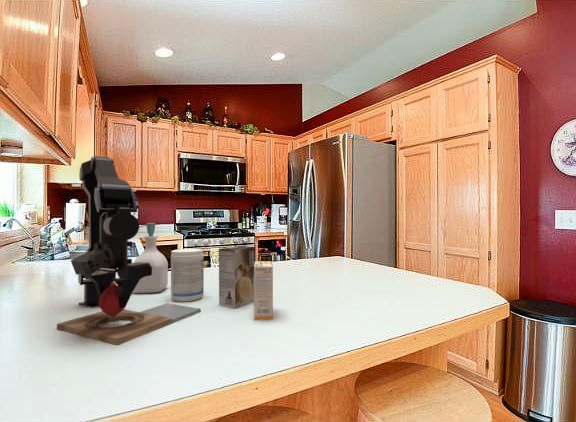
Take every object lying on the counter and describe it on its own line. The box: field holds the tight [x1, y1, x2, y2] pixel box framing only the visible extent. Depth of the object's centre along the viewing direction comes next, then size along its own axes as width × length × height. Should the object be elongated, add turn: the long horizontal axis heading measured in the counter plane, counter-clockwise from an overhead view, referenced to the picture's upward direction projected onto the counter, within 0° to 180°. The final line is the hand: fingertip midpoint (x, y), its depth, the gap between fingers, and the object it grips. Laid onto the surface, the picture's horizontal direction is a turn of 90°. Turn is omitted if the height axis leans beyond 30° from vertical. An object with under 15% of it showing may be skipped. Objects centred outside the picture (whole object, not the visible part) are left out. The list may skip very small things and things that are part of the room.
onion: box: [98, 281, 128, 317], centre depth 74 cm, size 6×6×8 cm
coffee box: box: [218, 245, 256, 309], centre depth 93 cm, size 9×6×16 cm
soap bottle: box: [133, 222, 169, 294], centre depth 108 cm, size 10×10×23 cm
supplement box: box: [253, 260, 274, 321], centre depth 82 cm, size 8×5×13 cm, turn 5°
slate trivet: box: [140, 302, 202, 324], centre depth 81 cm, size 12×12×1 cm
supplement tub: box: [170, 248, 205, 303], centre depth 98 cm, size 10×10×15 cm
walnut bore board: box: [56, 308, 173, 346], centre depth 73 cm, size 20×14×1 cm
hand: (113, 305), depth 74 cm, fingers closed on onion, 6 cm apart
